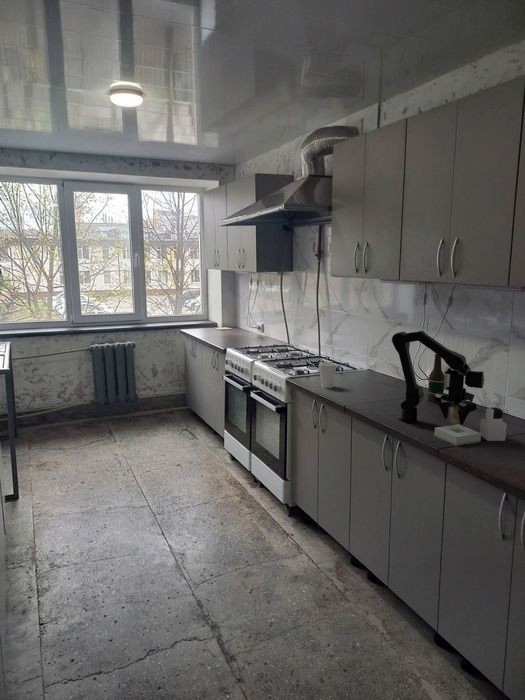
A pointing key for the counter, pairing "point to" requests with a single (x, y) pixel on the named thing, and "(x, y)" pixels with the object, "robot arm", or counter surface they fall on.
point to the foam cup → (327, 374)
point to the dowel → (453, 416)
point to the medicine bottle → (493, 425)
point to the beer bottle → (436, 380)
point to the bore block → (457, 434)
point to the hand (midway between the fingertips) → (453, 421)
